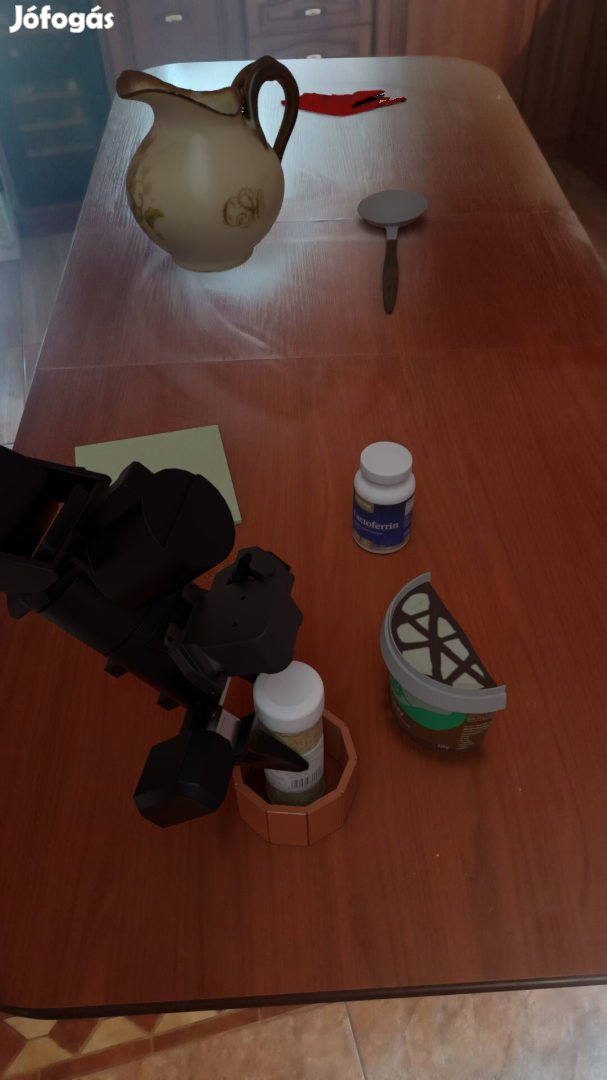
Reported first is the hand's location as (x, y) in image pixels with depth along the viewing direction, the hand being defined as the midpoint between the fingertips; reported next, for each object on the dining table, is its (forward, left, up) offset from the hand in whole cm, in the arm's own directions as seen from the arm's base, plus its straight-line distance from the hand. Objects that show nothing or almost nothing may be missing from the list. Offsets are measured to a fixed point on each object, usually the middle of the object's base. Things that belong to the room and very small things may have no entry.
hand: (311, 739), depth 55 cm
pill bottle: (+13, +25, -8) cm, 29 cm away
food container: (+10, +5, -8) cm, 13 cm away
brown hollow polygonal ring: (-1, +1, -8) cm, 8 cm away
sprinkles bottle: (-1, +1, -8) cm, 8 cm away
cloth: (+41, +146, -8) cm, 151 cm away
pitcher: (+6, +89, -8) cm, 89 cm away
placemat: (-8, +38, -8) cm, 39 cm away
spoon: (+31, +80, -8) cm, 86 cm away
